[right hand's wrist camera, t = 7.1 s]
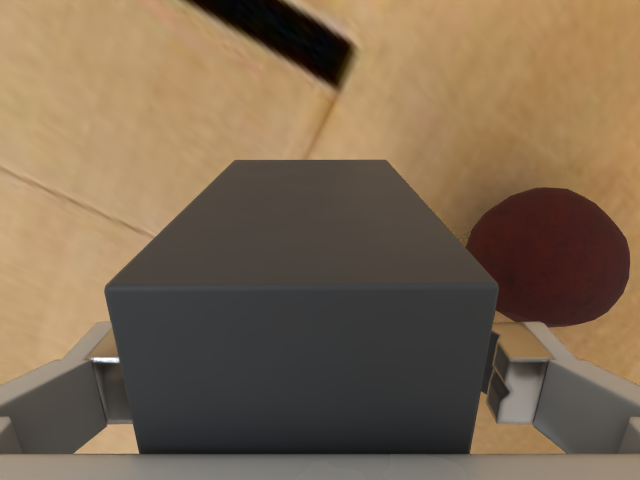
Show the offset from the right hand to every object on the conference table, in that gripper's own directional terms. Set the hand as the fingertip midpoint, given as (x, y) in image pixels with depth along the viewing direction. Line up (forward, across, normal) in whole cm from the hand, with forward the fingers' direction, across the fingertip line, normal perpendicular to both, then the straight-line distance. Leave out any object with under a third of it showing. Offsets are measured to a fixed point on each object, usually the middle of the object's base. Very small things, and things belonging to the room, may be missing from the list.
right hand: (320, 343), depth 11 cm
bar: (+4, 0, -8) cm, 9 cm away
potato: (+15, +12, -2) cm, 19 cm away
